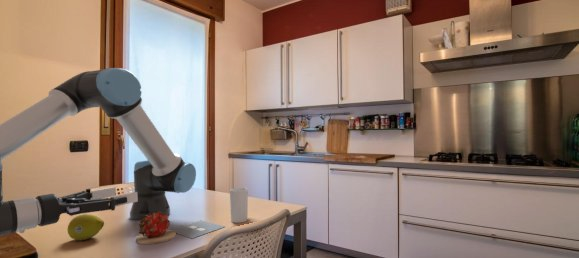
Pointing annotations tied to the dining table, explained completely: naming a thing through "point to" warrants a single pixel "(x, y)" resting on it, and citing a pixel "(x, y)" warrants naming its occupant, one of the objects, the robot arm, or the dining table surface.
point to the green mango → (84, 227)
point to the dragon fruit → (153, 224)
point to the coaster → (156, 238)
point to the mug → (239, 204)
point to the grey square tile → (196, 229)
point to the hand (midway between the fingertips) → (125, 193)
